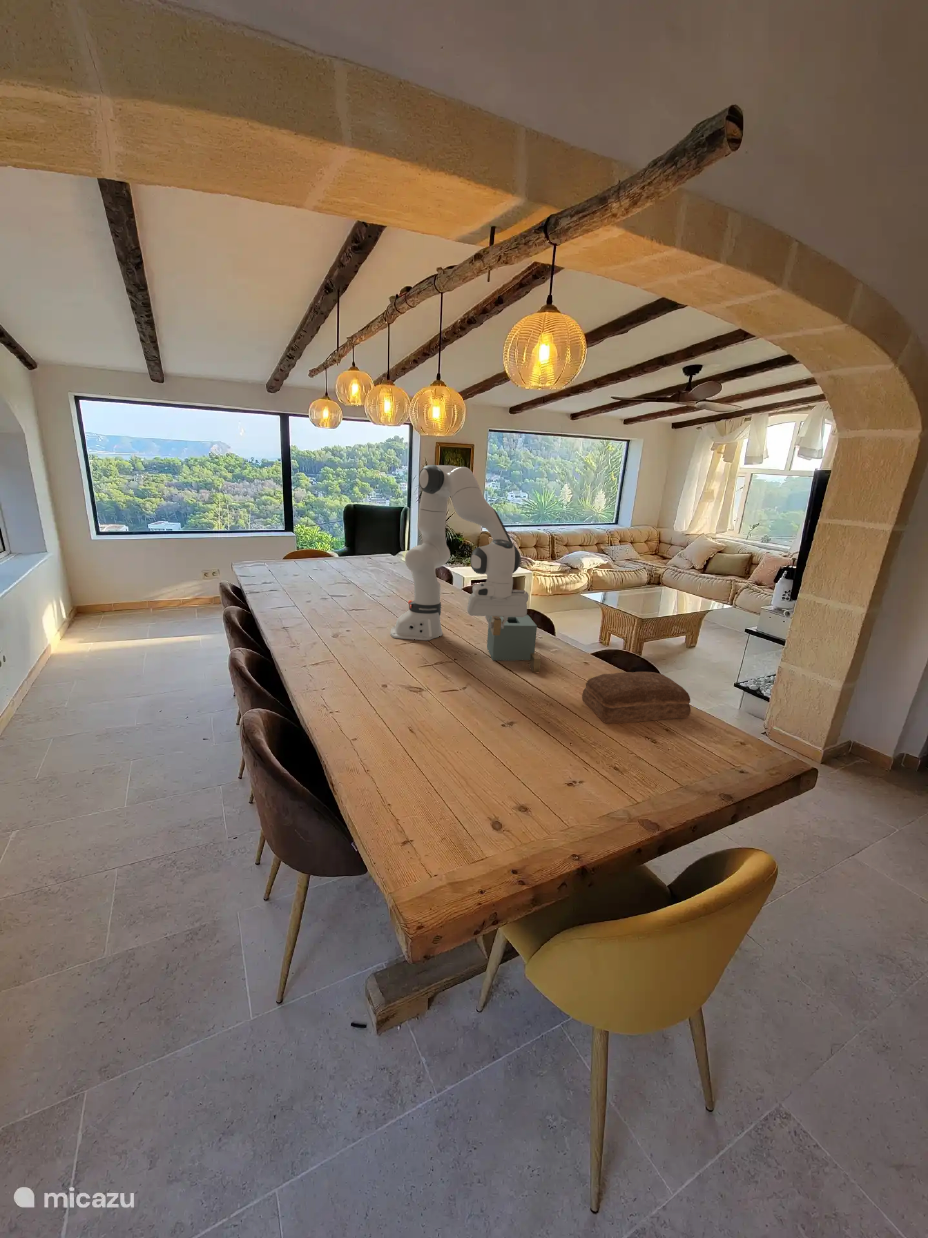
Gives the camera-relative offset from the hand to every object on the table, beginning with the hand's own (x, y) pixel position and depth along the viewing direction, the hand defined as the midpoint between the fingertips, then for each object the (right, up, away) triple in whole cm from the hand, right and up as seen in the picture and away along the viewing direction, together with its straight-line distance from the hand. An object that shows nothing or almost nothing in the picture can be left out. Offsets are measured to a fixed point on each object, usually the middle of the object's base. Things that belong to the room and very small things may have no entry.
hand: (495, 628), depth 169 cm
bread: (+42, -25, -16) cm, 52 cm away
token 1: (0, -2, 0) cm, 2 cm away
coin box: (+7, -11, +25) cm, 28 cm away
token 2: (+15, -16, +11) cm, 24 cm away
